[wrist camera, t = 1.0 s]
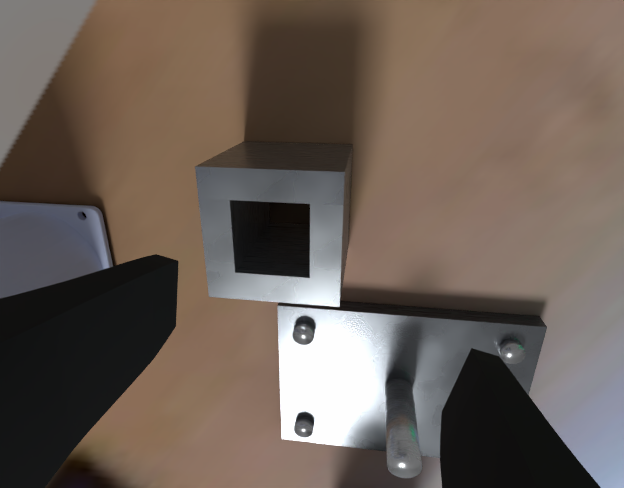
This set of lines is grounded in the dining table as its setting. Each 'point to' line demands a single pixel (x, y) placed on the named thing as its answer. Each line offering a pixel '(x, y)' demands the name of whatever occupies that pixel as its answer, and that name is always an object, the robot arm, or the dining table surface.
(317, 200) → the grey square socket
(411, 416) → the dark grey mounting plate
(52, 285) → the robot arm
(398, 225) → the dining table surface
